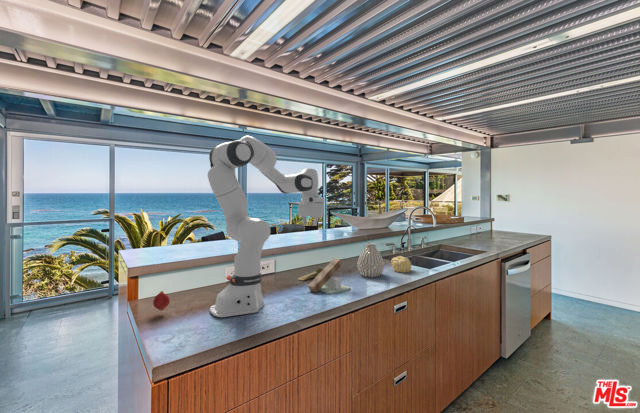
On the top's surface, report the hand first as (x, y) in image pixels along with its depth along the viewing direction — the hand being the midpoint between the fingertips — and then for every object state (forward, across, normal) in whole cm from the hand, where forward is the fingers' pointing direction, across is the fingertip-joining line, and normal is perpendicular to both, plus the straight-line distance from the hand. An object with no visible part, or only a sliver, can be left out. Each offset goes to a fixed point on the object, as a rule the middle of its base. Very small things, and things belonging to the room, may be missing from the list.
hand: (309, 225), depth 157 cm
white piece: (+33, +11, +7) cm, 35 cm away
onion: (+33, -5, -70) cm, 78 cm away
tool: (+34, -9, +14) cm, 38 cm away
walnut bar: (+25, +11, +5) cm, 28 cm away
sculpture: (+33, +8, +66) cm, 74 cm away
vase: (+33, +4, +42) cm, 54 cm away
